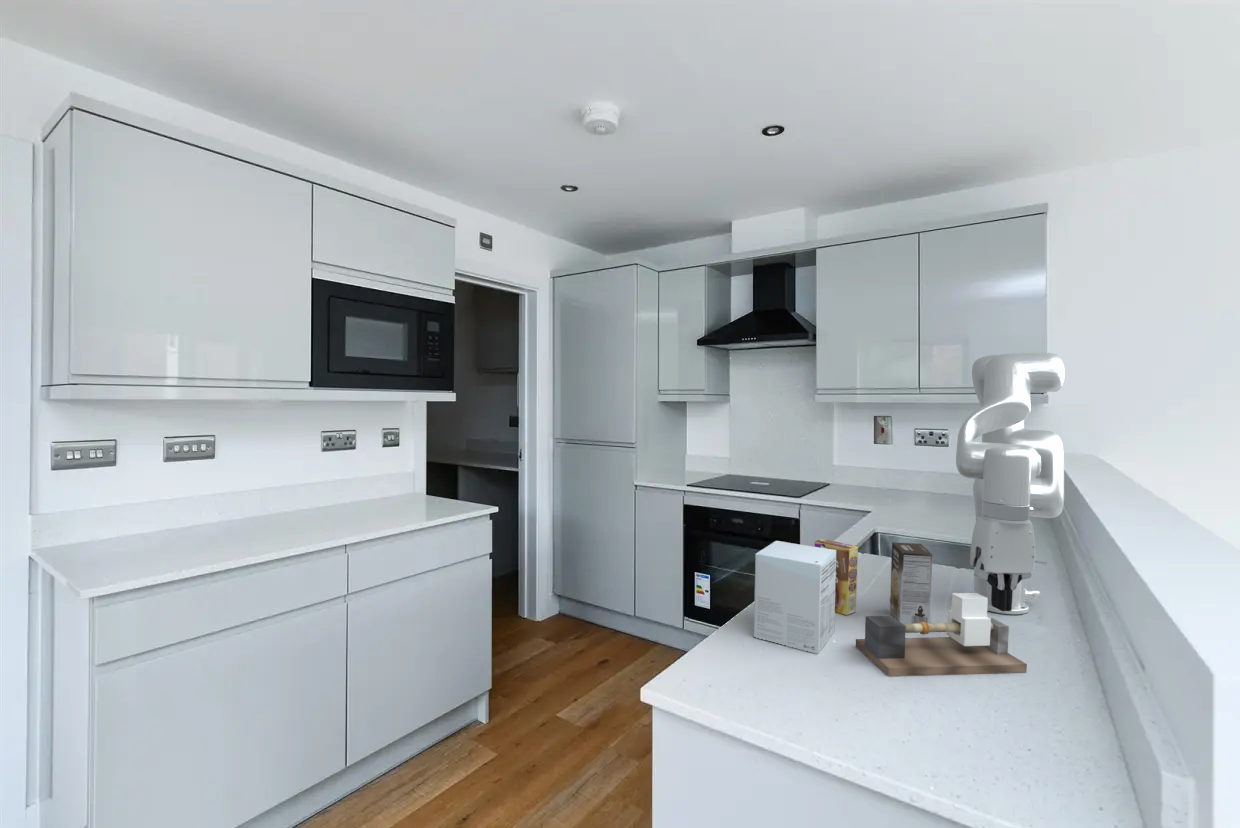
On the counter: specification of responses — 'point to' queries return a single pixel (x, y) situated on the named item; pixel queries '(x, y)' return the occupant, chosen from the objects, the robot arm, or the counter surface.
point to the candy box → (844, 574)
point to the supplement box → (795, 595)
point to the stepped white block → (970, 619)
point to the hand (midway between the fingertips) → (1001, 608)
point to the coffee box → (910, 583)
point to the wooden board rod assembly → (934, 649)
